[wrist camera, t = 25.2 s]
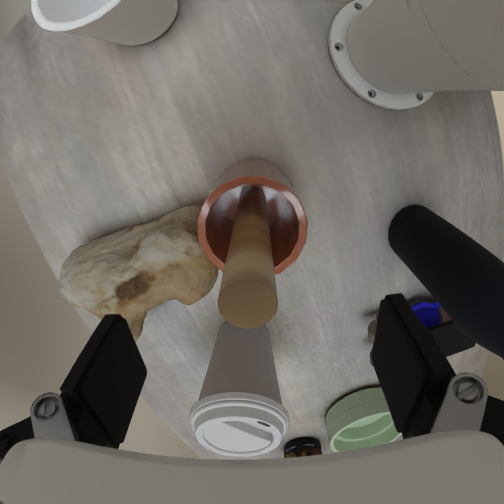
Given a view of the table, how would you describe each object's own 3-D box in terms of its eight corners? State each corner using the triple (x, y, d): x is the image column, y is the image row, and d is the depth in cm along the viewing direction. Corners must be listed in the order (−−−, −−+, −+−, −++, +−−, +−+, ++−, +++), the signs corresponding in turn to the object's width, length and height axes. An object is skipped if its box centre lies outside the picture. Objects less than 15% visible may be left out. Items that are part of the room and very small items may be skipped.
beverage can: (303, 432, 47) (309, 489, 36) (327, 442, 49) (335, 493, 38) (276, 446, 49) (278, 499, 39) (300, 455, 51) (305, 504, 40)
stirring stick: (245, 182, 29) (230, 270, 12) (270, 192, 29) (288, 292, 13) (235, 205, 30) (209, 317, 13) (259, 215, 30) (262, 335, 14)
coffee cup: (293, 348, 38) (306, 446, 25) (231, 372, 40) (223, 465, 27) (259, 294, 35) (260, 398, 21) (191, 325, 37) (165, 423, 23)
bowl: (354, 377, 41) (364, 407, 36) (412, 389, 43) (423, 415, 38) (310, 424, 46) (314, 452, 41) (367, 431, 48) (374, 456, 43)
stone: (168, 153, 28) (129, 170, 19) (242, 237, 32) (237, 287, 23) (78, 250, 33) (33, 292, 24) (142, 315, 37) (115, 370, 27)
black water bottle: (433, 199, 30) (642, 377, 2) (435, 249, 32) (594, 441, 5) (385, 211, 31) (590, 447, 3) (390, 262, 33) (533, 497, 6)
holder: (232, 146, 28) (221, 158, 19) (304, 177, 29) (325, 204, 20) (204, 214, 31) (183, 256, 22) (272, 242, 32) (278, 293, 23)
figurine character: (364, 340, 40) (457, 317, 36) (372, 380, 33) (477, 351, 30) (361, 303, 37) (462, 279, 34) (372, 342, 30) (487, 312, 27)
